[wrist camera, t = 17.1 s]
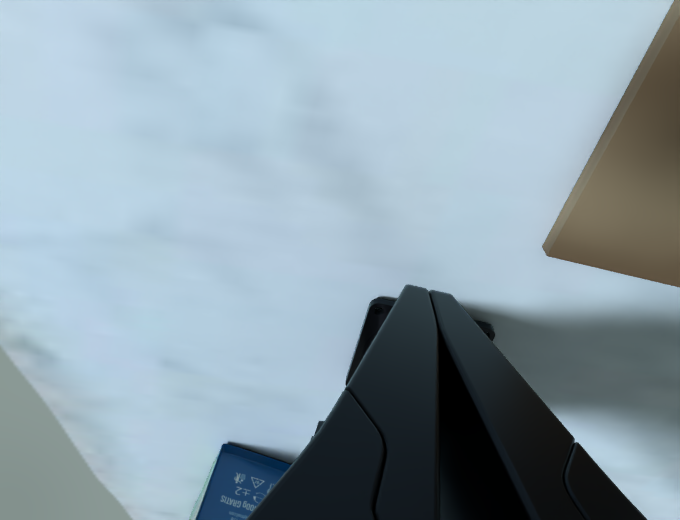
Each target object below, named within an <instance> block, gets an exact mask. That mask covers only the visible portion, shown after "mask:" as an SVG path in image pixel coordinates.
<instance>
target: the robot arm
mask: <svg viewBox="0 0 680 520" xmlns="http://www.w3.org/2000/svg"><path fill="white" fill-rule="evenodd" d="M376 307H381V308H383V309H382V310H377V309H375V308H376ZM484 332H487V333H486V334H485V333H484ZM494 337H495V333H494V329H493V326H492V325H491V324H488V323H485V322H481V321H476V320H473V319H472V318H471V317H470V316H469V314H468V313H467V312H466V311H465V310H464V309H463V307H462V306H461V305H460V304H459V303H458V302H457V300H456V299H455V298H454V297H453V296H452V295H451V294H448V293H444V292H439V291H435V290H430V291H429V292H428V290H427V289H426V288H422V287H418V286H413V285H406V286H405V287H404V289H403V290H402V292H401V294H400V296H399V297H398V299H397V301H396V302H394V301H390V300H386V299H381V298H377V299H374V300H372V301H371V302H370V304H369V307H368V310H367V313H366V316H365V320H364V323H363V326H362V329H361V332H360V335H359V339H358V342H357V345H356V348H355V351H354V354H353V358H352V361H351V364H350V367H349V370H348V373H347V377H346V388H345V390H344V391H343V392H342V394H341V396H340V397H339V399H338V401H337V403H336V404H335V406H334V408H333V409H332V411H331V412H330V414H329V415H328V417H327V418H326V420H325V421H319V423H318V426H317V429H316V432H315V435H314V436H312V438H311V441H310V442H309V444H308V445H307V446H306V448H305V449H304V450H303V451H302V453H301V454H300V455H299V457H298V458H297V459H296V460H295V461H294V463H293V464H292V465H291V466H290V467H289V469H288V470H287V471H286V472H285V473H284V475H283V476H282V477H281V478H280V479H279V480H278V482H277V483H276V484H275V485H274V486H273V488H272V489H271V490H270V491H269V492H268V494H267V495H266V496H265V497H264V498H263V499H262V501H261V502H260V503H259V504H258V505H257V507H256V508H255V509H254V510H253V511H252V513H251V514H250V515H249V516H248V517H247V518H246V520H647V519H646V518H645V517H644V515H643V514H642V513H641V512H640V511H639V510H638V509H637V508H636V507H635V506H634V505H633V504H632V503H631V502H630V501H629V500H628V499H627V498H626V496H625V495H624V494H623V493H622V492H621V491H620V490H619V489H618V487H617V486H616V485H615V484H614V483H613V482H612V481H611V480H610V478H609V477H608V476H607V475H606V474H605V473H604V472H603V471H602V469H601V468H600V467H599V466H598V465H597V464H596V463H595V461H594V460H593V459H592V458H591V457H590V456H589V454H588V453H587V452H586V451H585V450H584V449H583V447H582V446H581V445H580V444H579V443H577V442H575V443H574V441H575V439H574V437H573V436H572V435H571V434H570V432H569V431H568V430H567V429H566V428H565V427H564V425H563V424H562V423H561V422H560V421H559V420H558V418H557V417H556V416H555V415H554V414H553V413H552V411H551V410H550V409H549V408H548V407H547V406H546V404H545V403H544V402H543V401H542V400H541V399H540V397H539V396H538V395H537V394H536V393H535V392H534V390H533V389H532V388H531V387H530V386H529V385H528V383H527V382H526V381H525V380H524V379H523V378H522V376H521V375H520V374H519V373H518V372H517V371H516V369H515V368H514V367H513V366H512V365H511V364H510V362H509V361H508V360H507V359H506V358H505V356H504V355H503V354H502V353H501V352H500V351H499V349H498V348H497V347H496V346H495V345H494V344H493V342H492V341H493V339H494Z"/></svg>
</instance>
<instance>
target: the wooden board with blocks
mask: <svg viewBox="0 0 680 520" xmlns="http://www.w3.org/2000/svg"><path fill="white" fill-rule="evenodd" d="M542 247H543V249H544V251H545V253H546V255H547V256H549V257H554V258H558V259H562V260H566V261H570V262H575V263H579V264H583V265H587V266H592V267H596V268H600V269H604V270H608V271H613V272H617V273H621V274H625V275H630V276H634V277H638V278H642V279H647V280H651V281H655V282H659V283H663V284H668V285H672V286H676V287H680V0H674V2H673V4H672V6H671V7H670V9H669V11H668V13H667V15H666V17H665V19H664V20H663V22H662V24H661V26H660V28H659V30H658V32H657V33H656V35H655V37H654V39H653V41H652V43H651V45H650V47H649V48H648V50H647V52H646V54H645V56H644V58H643V60H642V61H641V63H640V65H639V67H638V69H637V71H636V73H635V74H634V76H633V78H632V80H631V82H630V84H629V86H628V88H627V89H626V91H625V93H624V95H623V97H622V99H621V101H620V102H619V104H618V106H617V108H616V110H615V112H614V114H613V115H612V117H611V119H610V121H609V123H608V125H607V127H606V128H605V130H604V132H603V134H602V136H601V138H600V140H599V142H598V143H597V145H596V147H595V149H594V151H593V153H592V155H591V156H590V158H589V160H588V162H587V164H586V166H585V168H584V169H583V171H582V173H581V175H580V177H579V179H578V181H577V183H576V184H575V186H574V188H573V190H572V192H571V194H570V196H569V197H568V199H567V201H566V203H565V205H564V207H563V209H562V210H561V212H560V214H559V216H558V218H557V220H556V222H555V224H554V225H553V227H552V229H551V231H550V233H549V235H548V237H547V238H546V240H545V242H544V244H543V246H542Z"/></svg>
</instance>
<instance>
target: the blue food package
mask: <svg viewBox="0 0 680 520" xmlns="http://www.w3.org/2000/svg"><path fill="white" fill-rule="evenodd" d="M290 466H291V465H290V464H287V463H284V462H281V461H278V460H275V459H272V458H269V457H266V456H263V455H260V454H257V453H254V452H251V451H248V450H245V449H242V448H239V447H236V446H232V445H229V444H223V445H222V447H221V449H220V451H219V453H218V455H217V457H216V459H215V461H214V462H213V465H212V467H211V470H210V472H209V474H208V477H207V479H206V482H205V484H204V486H203V488H202V491H201V493H200V495H199V497H198V499H197V501H196V503H195V506H194V508H193V511H192V513H191V516H190V518H189V520H246V518H247V517H248V516H249V515H250V514H251V513H252V511H253V510H254V509H255V508H256V507H257V505H258V504H259V503H260V502H261V501H262V499H263V498H264V497H265V496H266V495H267V494H268V492H269V491H270V490H271V489H272V488H273V486H274V485H275V484H276V483H277V482H278V480H279V479H280V478H281V477H282V476H283V475H284V473H285V472H286V471H287V470H288V469H289V467H290Z"/></svg>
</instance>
